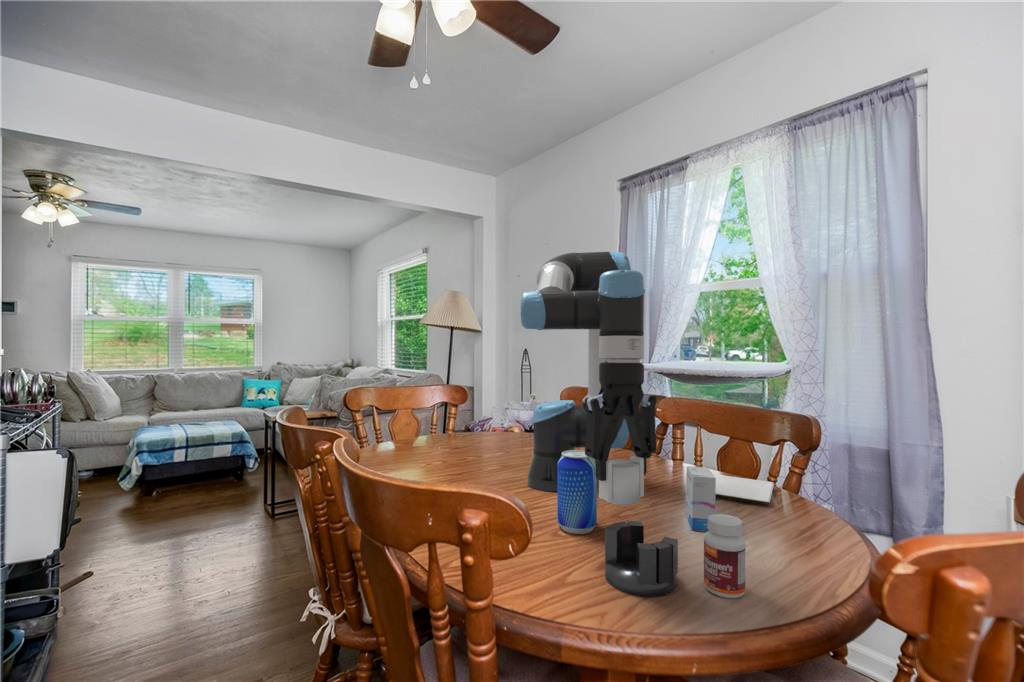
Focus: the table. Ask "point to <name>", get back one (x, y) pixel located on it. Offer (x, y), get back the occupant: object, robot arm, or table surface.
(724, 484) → the plate
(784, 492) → the table surface
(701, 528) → the ink box
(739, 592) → the pill bottle
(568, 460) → the beer can
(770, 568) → the table surface
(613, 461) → the cap
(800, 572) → the table surface
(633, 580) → the dark faceted crown
